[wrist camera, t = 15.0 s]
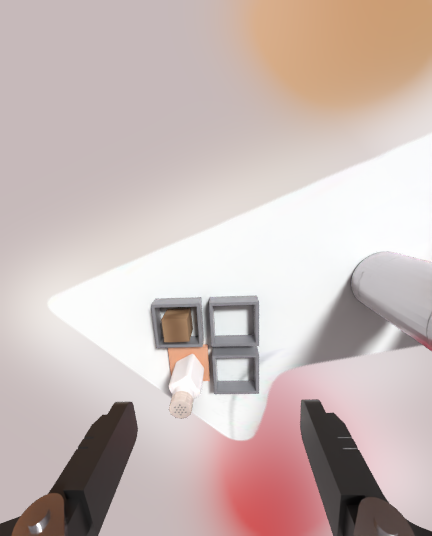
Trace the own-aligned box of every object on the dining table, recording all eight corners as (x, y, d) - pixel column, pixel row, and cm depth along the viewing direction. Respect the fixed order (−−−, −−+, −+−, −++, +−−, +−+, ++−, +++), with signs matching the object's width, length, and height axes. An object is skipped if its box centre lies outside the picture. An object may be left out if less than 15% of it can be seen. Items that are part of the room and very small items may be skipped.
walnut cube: (190, 307, 39) (186, 318, 35) (192, 328, 40) (189, 341, 36) (167, 308, 39) (161, 319, 35) (170, 329, 40) (164, 342, 36)
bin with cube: (201, 297, 38) (199, 303, 36) (204, 338, 40) (202, 346, 38) (155, 298, 39) (150, 304, 36) (160, 339, 40) (156, 347, 38)
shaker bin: (256, 345, 40) (258, 354, 38) (257, 382, 42) (258, 393, 40) (212, 346, 40) (212, 355, 38) (215, 383, 42) (214, 394, 40)
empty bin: (256, 295, 38) (258, 301, 35) (256, 337, 40) (258, 345, 37) (209, 297, 38) (209, 303, 36) (212, 338, 40) (211, 346, 38)
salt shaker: (187, 377, 41) (176, 425, 32) (174, 360, 41) (160, 405, 31) (205, 367, 41) (200, 414, 32) (193, 351, 40) (184, 393, 31)
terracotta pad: (207, 344, 40) (207, 347, 40) (209, 377, 42) (209, 380, 41) (168, 345, 41) (167, 347, 40) (172, 378, 42) (171, 381, 42)
